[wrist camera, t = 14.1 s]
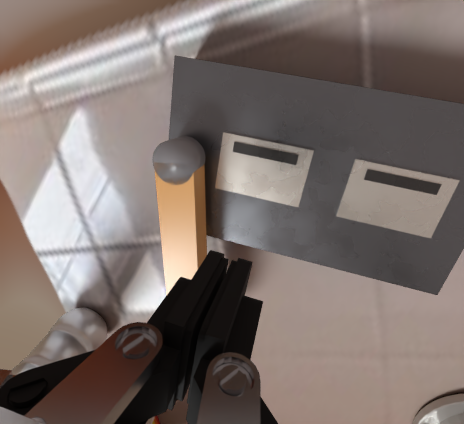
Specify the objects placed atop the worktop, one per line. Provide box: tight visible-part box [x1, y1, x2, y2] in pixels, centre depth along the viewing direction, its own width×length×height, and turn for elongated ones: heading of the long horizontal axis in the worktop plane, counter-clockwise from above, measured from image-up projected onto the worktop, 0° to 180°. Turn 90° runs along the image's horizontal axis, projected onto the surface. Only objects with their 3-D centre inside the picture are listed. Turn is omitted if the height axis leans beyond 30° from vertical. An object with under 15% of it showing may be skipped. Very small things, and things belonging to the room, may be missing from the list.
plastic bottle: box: [12, 308, 107, 375], centre depth 31 cm, size 6×7×20 cm
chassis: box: [169, 56, 464, 295], centre depth 24 cm, size 24×14×5 cm, turn 80°
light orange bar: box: [153, 136, 207, 296], centre depth 25 cm, size 22×3×2 cm, turn 179°
